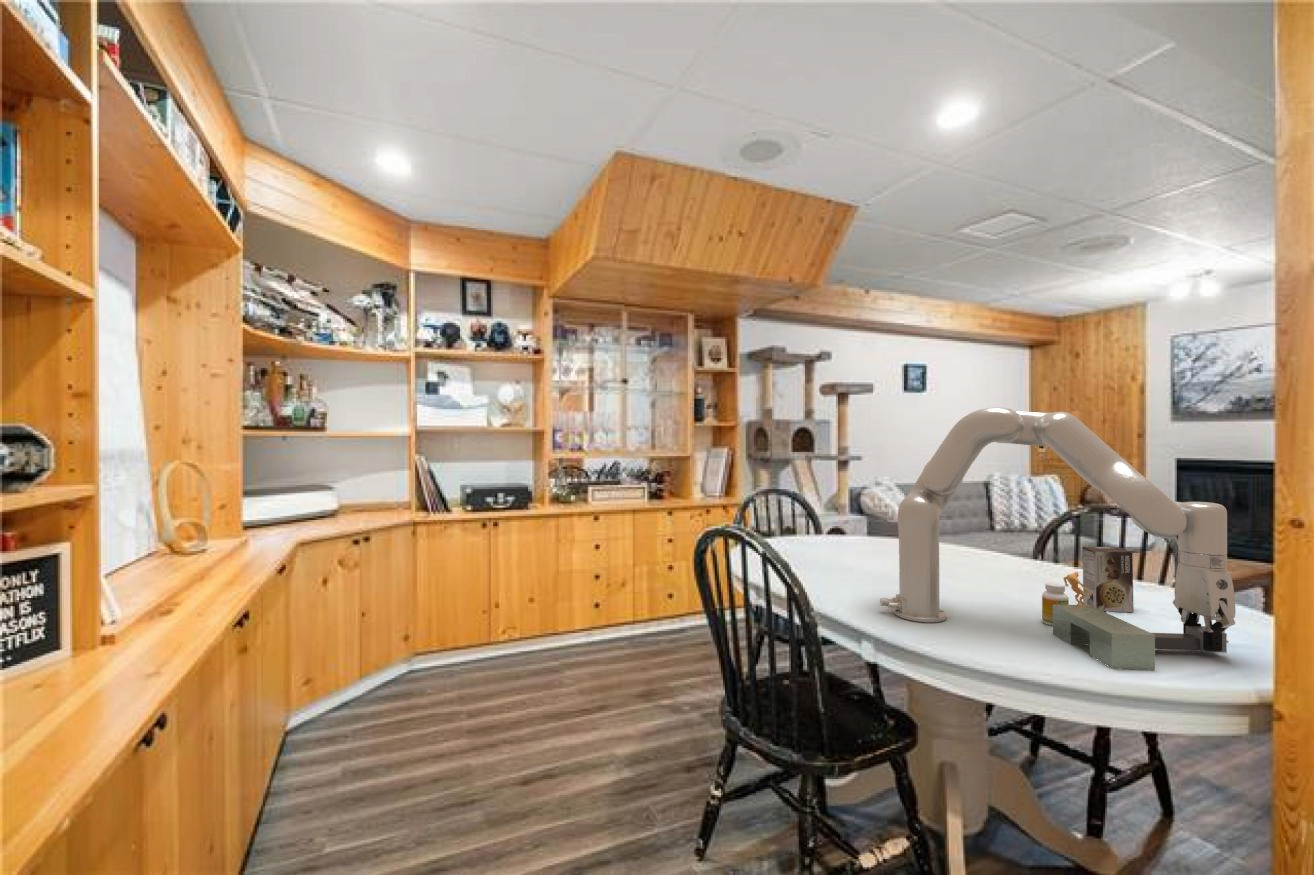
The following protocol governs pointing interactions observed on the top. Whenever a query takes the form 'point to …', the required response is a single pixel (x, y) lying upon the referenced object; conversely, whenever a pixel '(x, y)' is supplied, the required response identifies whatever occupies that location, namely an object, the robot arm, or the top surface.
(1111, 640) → the notched grey-green block
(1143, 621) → the top surface
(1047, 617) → the supplement bottle
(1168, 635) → the long grey beam
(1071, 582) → the figurine
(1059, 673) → the top surface
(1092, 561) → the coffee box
